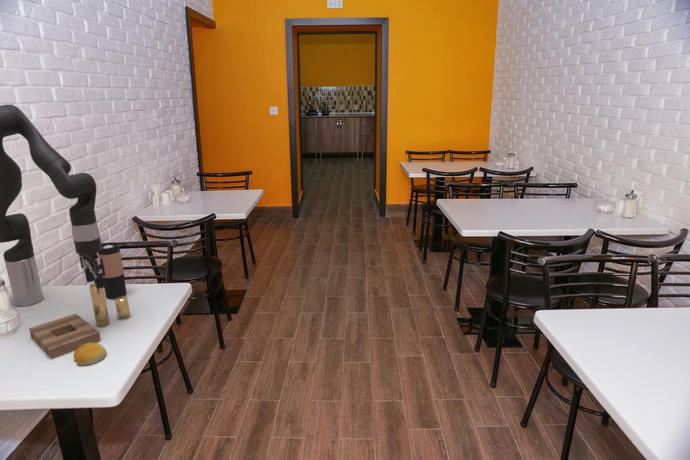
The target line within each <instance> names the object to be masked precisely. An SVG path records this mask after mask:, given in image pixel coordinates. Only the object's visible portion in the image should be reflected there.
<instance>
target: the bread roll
mask: <svg viewBox="0 0 690 460" xmlns="http://www.w3.org/2000/svg"><path fill="white" fill-rule="evenodd" d="M106 355H107V349H106V348H105V347H104V346H103V345H101V344H100V343H99V342H96V343H86V344H83V345H82V346H80V347H79V348H78V349H77V350H74V351H73V359H74V360H75V363H76V364H77V365H79V366H87V365H89V366H90V365H94V364H97V363H99V362H100V361H102V360H103V359H104V358H105V357H106Z"/></svg>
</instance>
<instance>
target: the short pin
mask: <svg viewBox="0 0 690 460" xmlns="http://www.w3.org/2000/svg"><path fill="white" fill-rule="evenodd" d="M114 304H115V309H116V317H117V320H118V321H125V320H127V319H129V318H131V312H130V311H131V310H130V306H129V305H130V304H129V299H128V296H127V295H125V296H121V297H117V298H115V299H114Z"/></svg>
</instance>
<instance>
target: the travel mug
mask: <svg viewBox="0 0 690 460" xmlns="http://www.w3.org/2000/svg"><path fill="white" fill-rule="evenodd" d="M101 244H102V249H101V250H100V251H98V252H97V255H98V256H99V258H102V259H103V264H104V269H105V274H106V275H105V276H103V281H104V293H105V299H106V300H115V298H117V297H121V296H127V287H126V279H125V272H124V266H123V260H122V253H121V249H120V248H121V247H120V243H118V242H105V243H101Z"/></svg>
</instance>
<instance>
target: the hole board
mask: <svg viewBox="0 0 690 460" xmlns="http://www.w3.org/2000/svg"><path fill="white" fill-rule="evenodd" d="M28 329H29V335H30V338H31V339H32V340H33V341H34V342H35V343H36V344H37V346H39V348H41V350H42V351H43V352H44V353H46V355H47V357H49V358H50V359H51V360H53V359H55V358H59V357H60V356H63V355H66V354H68V353H72V352H75V351H76V350H77V349H78V348H79V347H80V346H82V345H83V344H86V343H99V342H101V335H100V332H99V331H98V330H97V329H96V328H94V327H93V326H92V325H91V324H90V323H89V322H87V321H86V320H84V319H83V317H81V316H80V315H79V314H77V313H73V314H70V315H67V316H63V317H60V318H58V319H55V320H52V321H48V322H45V323H42V324H39V325H35V326H32V327H30V328H28Z"/></svg>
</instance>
